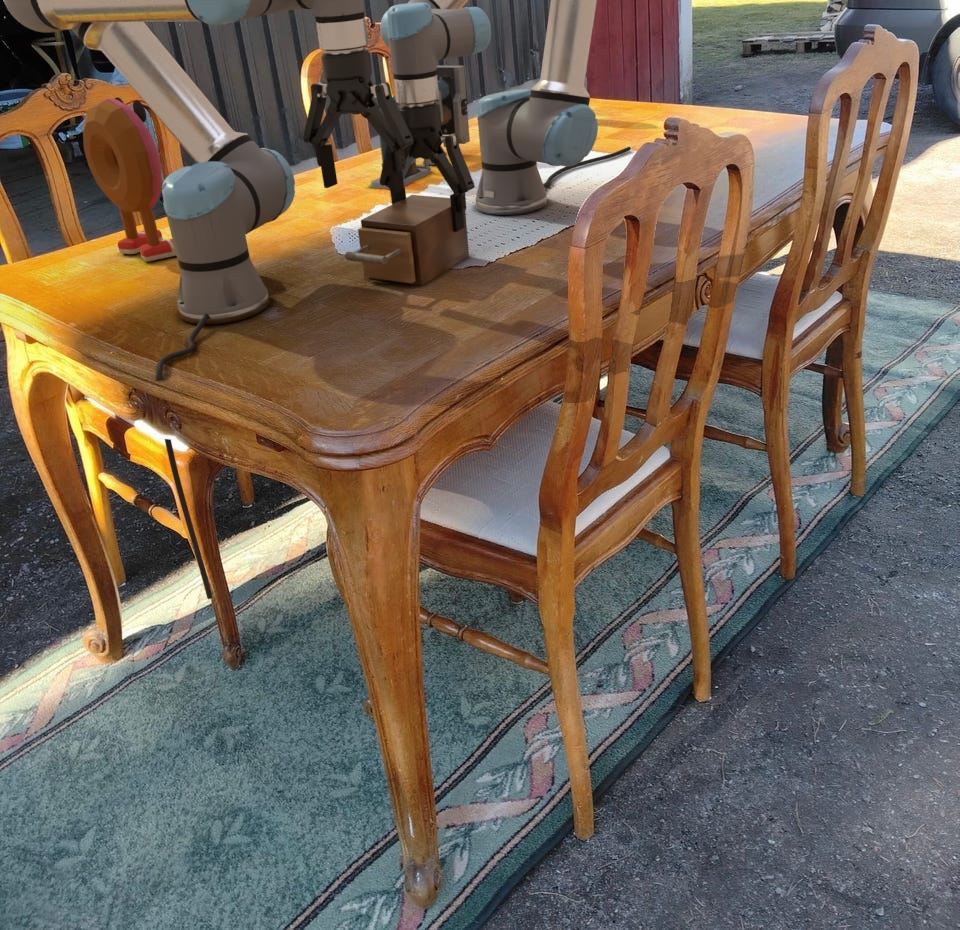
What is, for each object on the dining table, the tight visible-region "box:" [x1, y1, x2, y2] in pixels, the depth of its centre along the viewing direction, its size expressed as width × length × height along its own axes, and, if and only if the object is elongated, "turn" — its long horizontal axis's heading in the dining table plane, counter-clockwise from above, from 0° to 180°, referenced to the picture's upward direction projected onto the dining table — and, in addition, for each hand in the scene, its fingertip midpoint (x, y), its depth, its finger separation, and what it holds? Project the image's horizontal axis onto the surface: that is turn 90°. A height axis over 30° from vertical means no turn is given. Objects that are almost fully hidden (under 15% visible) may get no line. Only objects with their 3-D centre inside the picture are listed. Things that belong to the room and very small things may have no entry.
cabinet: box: [360, 194, 470, 286], centre depth 175 cm, size 16×12×11 cm
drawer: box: [345, 227, 416, 284], centre depth 171 cm, size 21×10×9 cm, turn 150°
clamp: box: [369, 65, 471, 190], centre depth 235 cm, size 35×9×21 cm, turn 151°
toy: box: [82, 96, 177, 262], centre depth 190 cm, size 21×10×30 cm, turn 47°
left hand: (363, 188), depth 159 cm, fingers open, 13 cm apart
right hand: (430, 226), depth 178 cm, fingers closed on cabinet, 11 cm apart
